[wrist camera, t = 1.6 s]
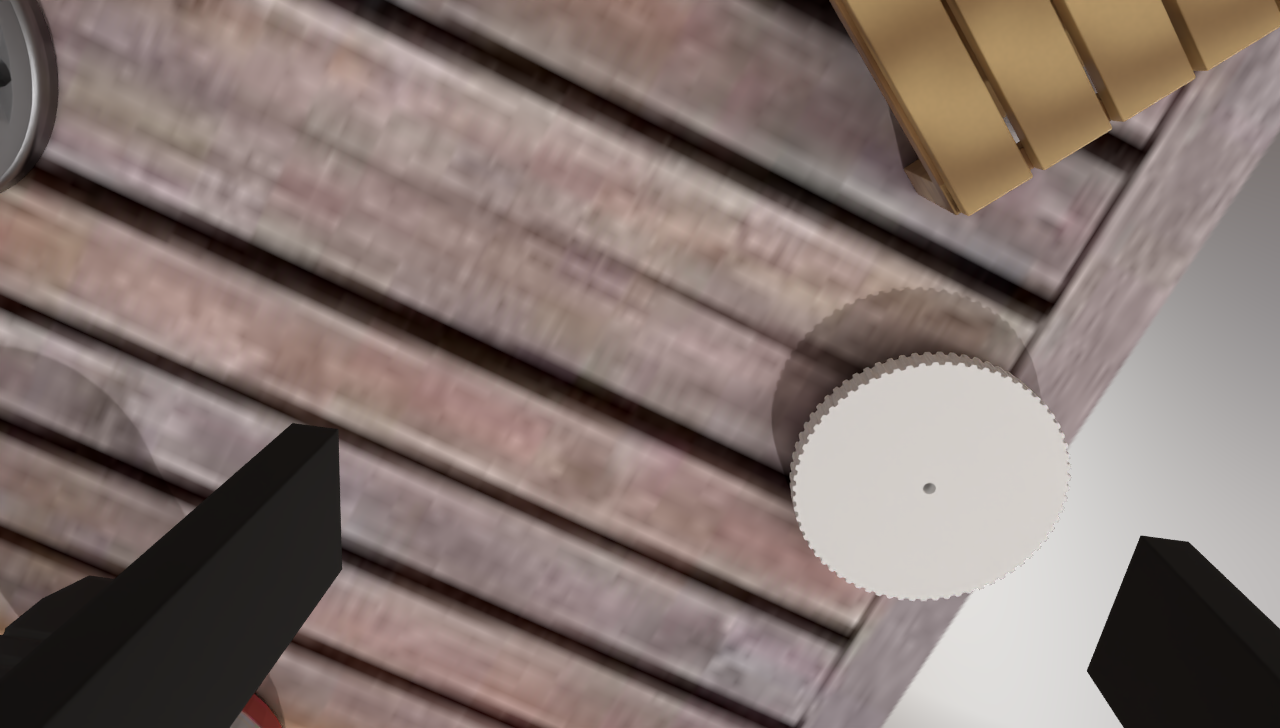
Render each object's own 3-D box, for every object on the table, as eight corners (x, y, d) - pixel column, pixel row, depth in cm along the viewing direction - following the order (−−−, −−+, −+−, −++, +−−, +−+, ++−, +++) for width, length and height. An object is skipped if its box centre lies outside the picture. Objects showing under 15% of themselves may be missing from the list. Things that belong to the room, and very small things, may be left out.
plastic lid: (737, 490, 44) (739, 514, 42) (901, 293, 40) (914, 307, 37) (929, 613, 46) (942, 642, 44) (1107, 439, 42) (1131, 461, 39)
